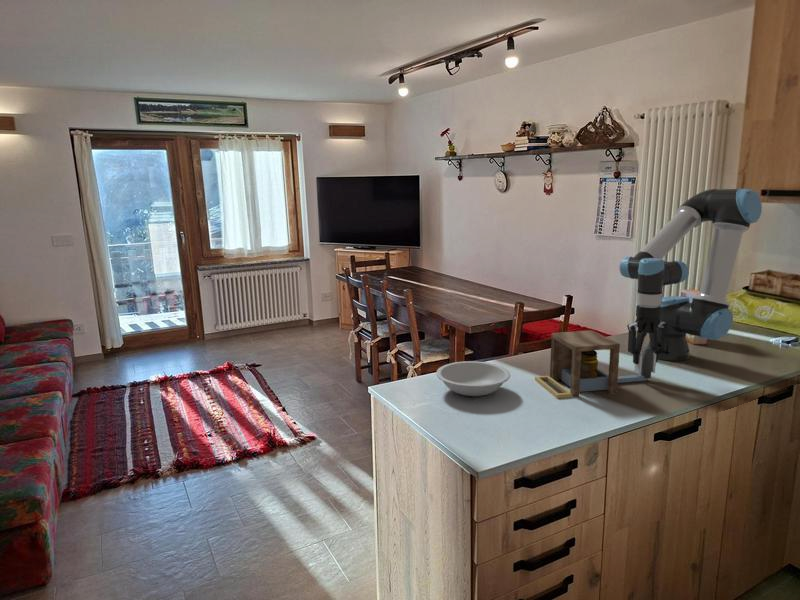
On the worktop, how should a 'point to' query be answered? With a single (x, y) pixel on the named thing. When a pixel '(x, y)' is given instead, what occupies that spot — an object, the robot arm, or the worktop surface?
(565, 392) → the beige rectangular tray
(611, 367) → the tunnel
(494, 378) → the soup bowl
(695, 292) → the cracker box
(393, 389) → the worktop surface
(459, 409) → the worktop surface
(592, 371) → the condiment
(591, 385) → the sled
